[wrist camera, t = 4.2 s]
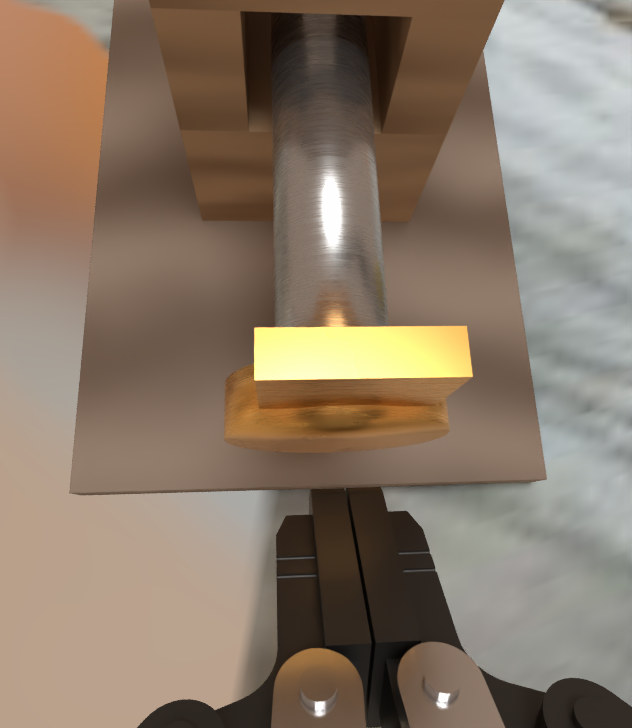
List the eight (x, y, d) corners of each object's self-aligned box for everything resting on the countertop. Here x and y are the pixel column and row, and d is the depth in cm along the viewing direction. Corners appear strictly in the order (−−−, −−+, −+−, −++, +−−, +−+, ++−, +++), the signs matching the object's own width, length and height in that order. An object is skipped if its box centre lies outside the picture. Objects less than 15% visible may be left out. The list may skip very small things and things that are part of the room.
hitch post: (531, 482, 20) (1611, 277, 4) (81, 495, 19) (-1113, 283, 3) (465, 13, 27) (772, -827, 10) (123, 1, 25) (-159, -969, 9)
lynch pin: (418, 450, 14) (527, 389, 8) (233, 455, 14) (196, 394, 8) (385, 64, 18) (443, -186, 12) (236, 60, 18) (214, -200, 11)
